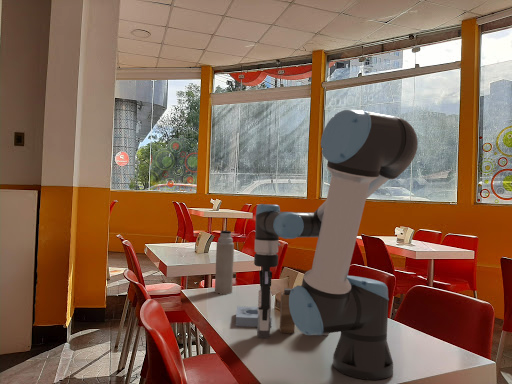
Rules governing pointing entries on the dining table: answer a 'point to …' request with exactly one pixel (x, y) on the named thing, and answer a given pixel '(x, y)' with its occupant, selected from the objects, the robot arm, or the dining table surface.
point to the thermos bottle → (224, 263)
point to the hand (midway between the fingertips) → (263, 327)
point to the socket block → (247, 316)
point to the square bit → (286, 313)
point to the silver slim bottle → (259, 333)
